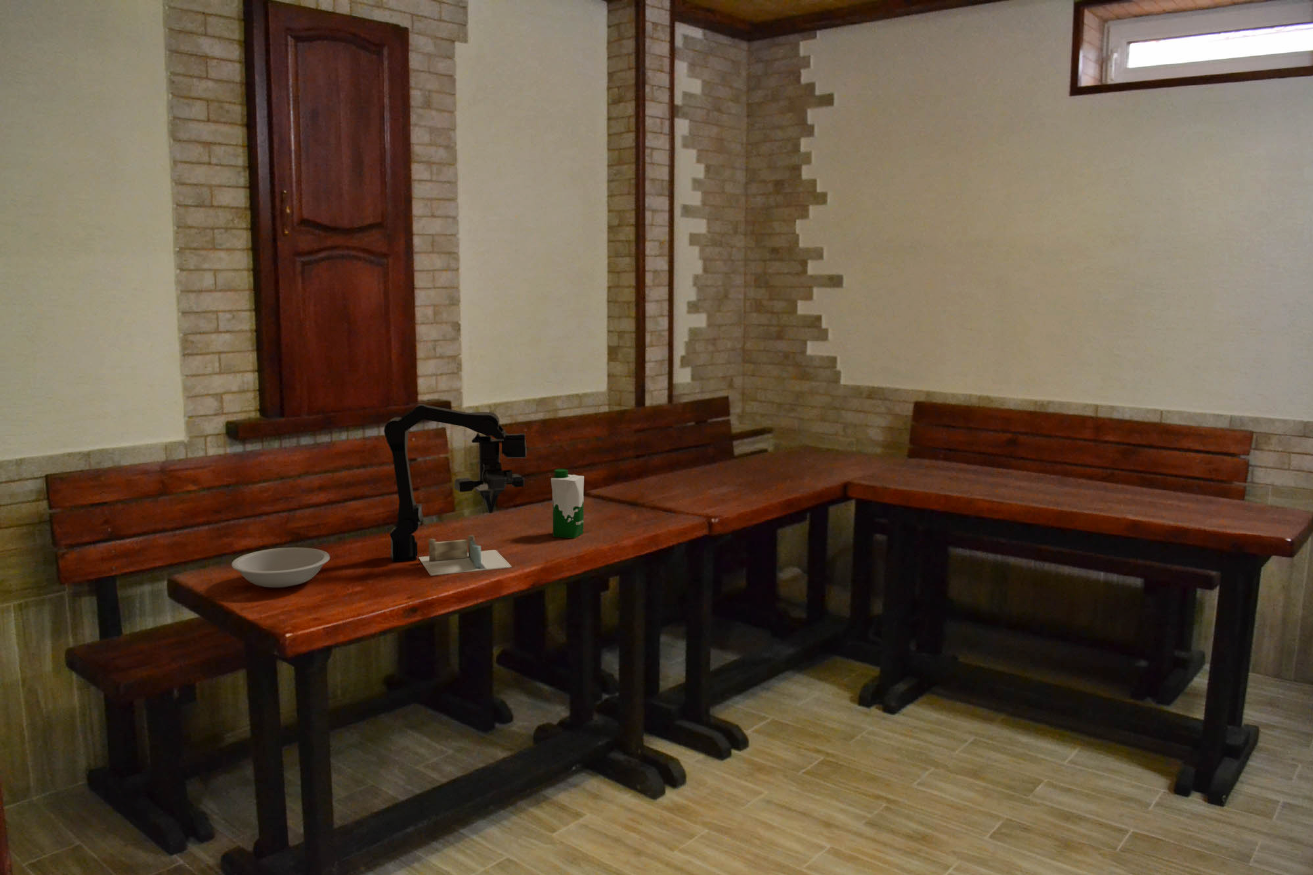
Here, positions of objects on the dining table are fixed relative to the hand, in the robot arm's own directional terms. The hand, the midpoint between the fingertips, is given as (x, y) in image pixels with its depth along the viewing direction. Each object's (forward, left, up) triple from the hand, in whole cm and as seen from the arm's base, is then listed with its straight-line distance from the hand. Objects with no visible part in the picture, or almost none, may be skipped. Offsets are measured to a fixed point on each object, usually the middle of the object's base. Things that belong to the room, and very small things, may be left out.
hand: (490, 512), depth 312 cm
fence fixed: (-11, +1, -12) cm, 17 cm away
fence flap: (-6, -6, -12) cm, 15 cm away
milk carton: (+28, +16, -13) cm, 35 cm away
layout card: (-8, -3, -13) cm, 15 cm away
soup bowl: (-56, -6, -13) cm, 58 cm away
